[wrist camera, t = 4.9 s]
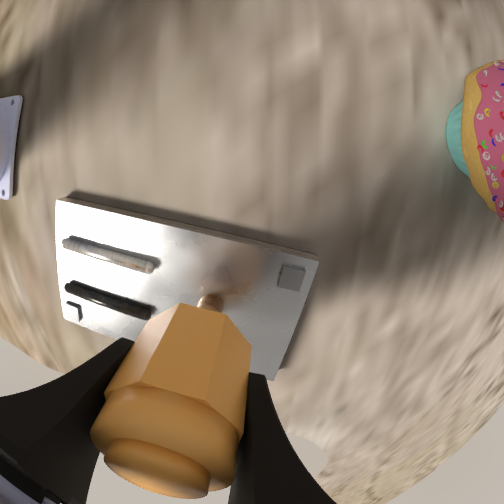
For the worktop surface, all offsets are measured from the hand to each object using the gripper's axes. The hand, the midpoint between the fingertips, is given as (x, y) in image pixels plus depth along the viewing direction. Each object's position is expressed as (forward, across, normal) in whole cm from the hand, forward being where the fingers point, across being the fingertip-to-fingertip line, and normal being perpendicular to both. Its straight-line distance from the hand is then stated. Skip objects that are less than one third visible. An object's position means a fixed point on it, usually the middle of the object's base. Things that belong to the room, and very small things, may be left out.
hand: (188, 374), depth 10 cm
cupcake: (+7, -13, -14) cm, 20 cm away
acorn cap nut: (+2, 0, 0) cm, 2 cm away
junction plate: (+7, +3, 0) cm, 7 cm away
